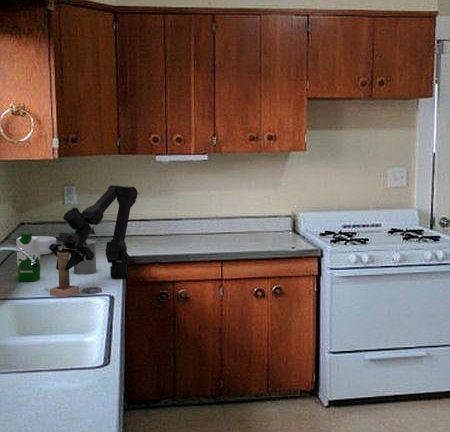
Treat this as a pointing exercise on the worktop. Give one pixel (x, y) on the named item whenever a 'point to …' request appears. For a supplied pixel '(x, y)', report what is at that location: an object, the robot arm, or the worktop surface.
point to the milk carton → (23, 262)
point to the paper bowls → (46, 244)
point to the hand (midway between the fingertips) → (61, 269)
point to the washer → (97, 289)
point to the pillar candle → (87, 261)
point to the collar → (64, 291)
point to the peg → (63, 269)
